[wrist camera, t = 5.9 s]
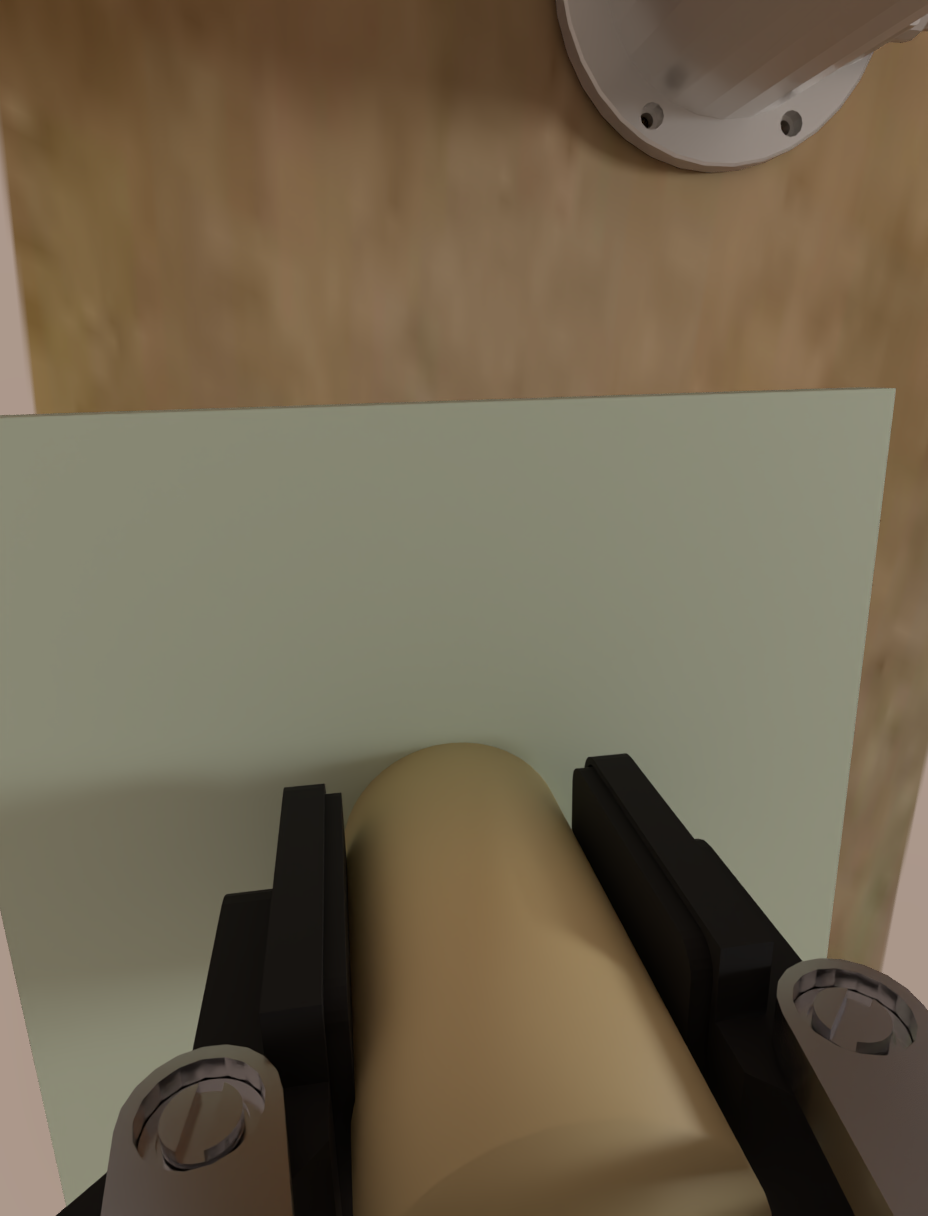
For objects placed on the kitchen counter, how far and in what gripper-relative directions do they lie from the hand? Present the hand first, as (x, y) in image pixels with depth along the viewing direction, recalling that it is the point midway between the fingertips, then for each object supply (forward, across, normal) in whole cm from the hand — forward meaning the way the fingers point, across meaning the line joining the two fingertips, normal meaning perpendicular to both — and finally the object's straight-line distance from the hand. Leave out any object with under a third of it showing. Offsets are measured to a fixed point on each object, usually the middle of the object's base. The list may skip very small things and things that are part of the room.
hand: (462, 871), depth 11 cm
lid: (+2, 0, 0) cm, 2 cm away
